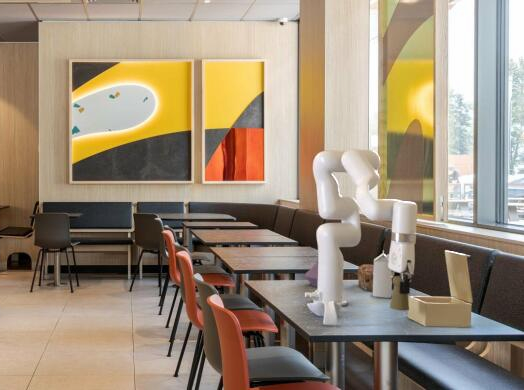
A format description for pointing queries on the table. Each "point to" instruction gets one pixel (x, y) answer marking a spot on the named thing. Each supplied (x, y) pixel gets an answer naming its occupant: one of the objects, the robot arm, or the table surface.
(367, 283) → the bread
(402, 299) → the cork
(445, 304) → the chest
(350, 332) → the table surface
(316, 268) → the flask
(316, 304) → the spoon rest
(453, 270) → the lid
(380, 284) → the milk carton
